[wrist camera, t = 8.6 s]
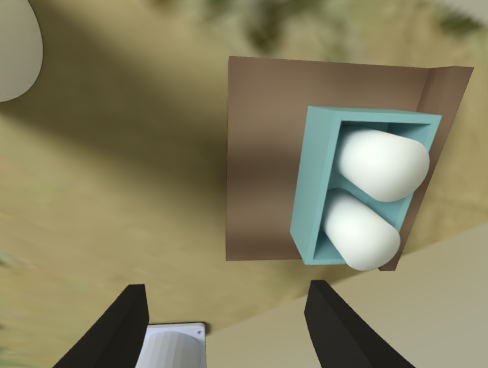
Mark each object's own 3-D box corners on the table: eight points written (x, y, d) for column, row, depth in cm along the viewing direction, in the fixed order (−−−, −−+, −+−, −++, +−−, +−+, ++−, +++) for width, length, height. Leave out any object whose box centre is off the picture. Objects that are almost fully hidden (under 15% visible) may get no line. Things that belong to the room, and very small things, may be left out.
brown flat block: (364, 238, 21) (394, 270, 17) (225, 241, 20) (226, 275, 16) (415, 72, 16) (474, 67, 12) (228, 61, 14) (230, 51, 11)
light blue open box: (357, 230, 18) (405, 281, 13) (289, 231, 17) (314, 284, 12) (392, 109, 14) (473, 119, 9) (308, 105, 14) (351, 114, 9)
